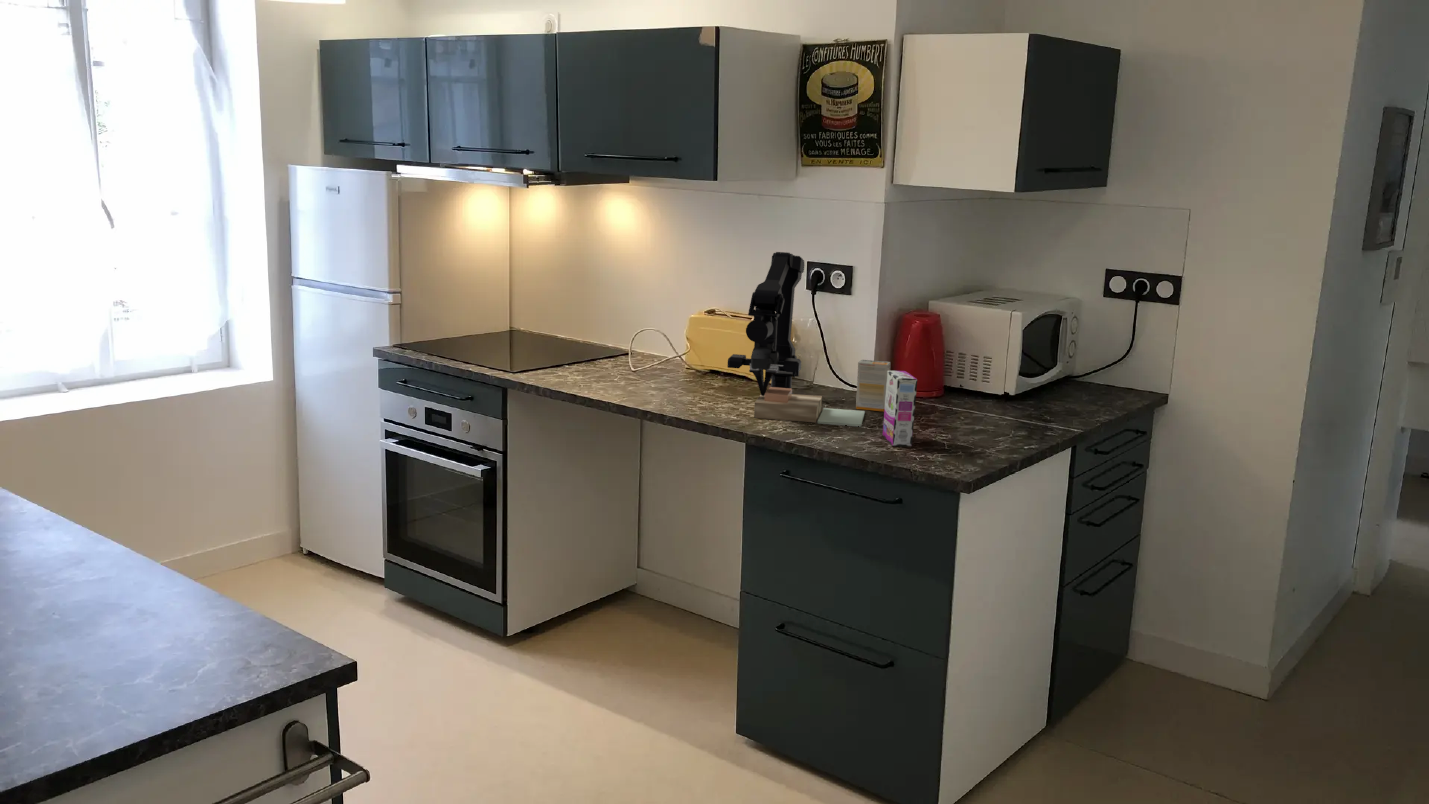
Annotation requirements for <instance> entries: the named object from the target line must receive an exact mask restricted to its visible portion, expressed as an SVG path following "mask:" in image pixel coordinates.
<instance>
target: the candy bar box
mask: <svg viewBox="0 0 1429 804" xmlns="http://www.w3.org/2000/svg"><path fill="white" fill-rule="evenodd" d="M917 387H918V379H917V377H915V376H913V375H912V374H911V373H909V372H907V371H905V370H890V371H887V384H886V396H885V409H884V412H883V425H882V436H883V437H884V438H885V439H886V440H887V442H889V444H890V445H892V447H912V446H913V438H914V437H913V434H914V423H915V411H916V403H917V402H916V401H917Z"/></svg>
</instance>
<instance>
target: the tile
mask: <svg viewBox="0 0 1429 804" xmlns="http://www.w3.org/2000/svg"><path fill="white" fill-rule="evenodd" d="M792 393H793V388H792V387H791V388H777V387H771V386H768V388H767V391H766V393H765V399H764V401H769V402H783V403H788V401H789V400H790V398H791V396H792Z"/></svg>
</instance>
